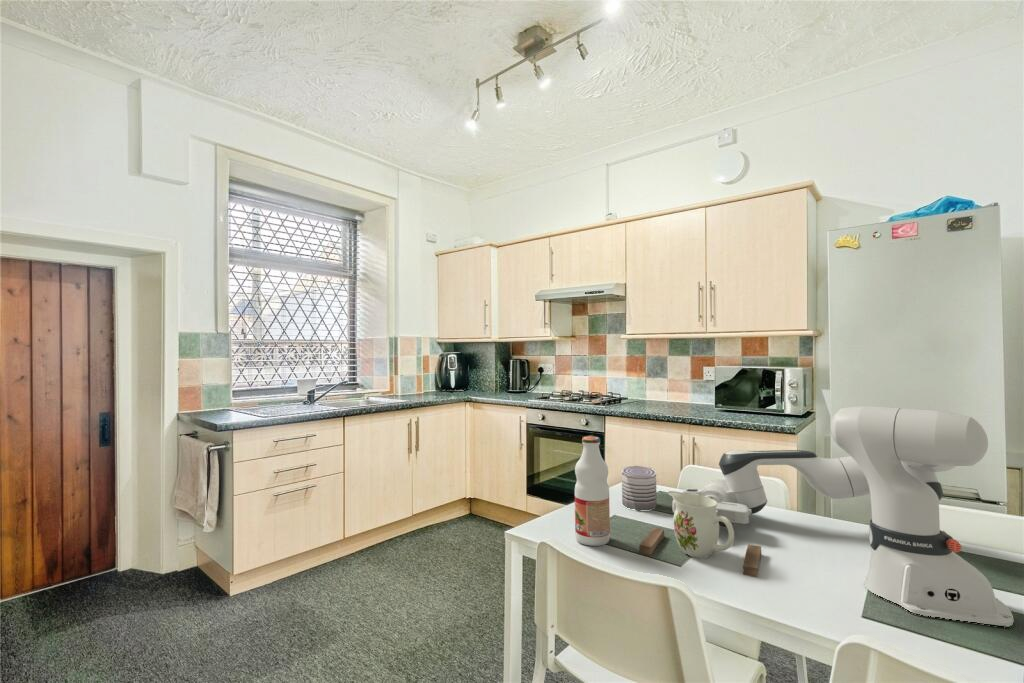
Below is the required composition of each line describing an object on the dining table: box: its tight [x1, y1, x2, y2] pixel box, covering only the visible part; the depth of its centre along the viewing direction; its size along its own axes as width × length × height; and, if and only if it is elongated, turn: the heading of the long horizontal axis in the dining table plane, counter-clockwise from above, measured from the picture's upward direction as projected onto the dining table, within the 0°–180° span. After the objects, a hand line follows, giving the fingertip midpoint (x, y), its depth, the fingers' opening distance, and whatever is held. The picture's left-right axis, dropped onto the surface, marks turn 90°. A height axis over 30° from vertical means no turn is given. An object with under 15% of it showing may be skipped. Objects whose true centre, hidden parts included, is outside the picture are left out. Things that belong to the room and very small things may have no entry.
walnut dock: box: [638, 527, 762, 578], centre depth 121 cm, size 27×14×2 cm, turn 59°
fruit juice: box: [574, 435, 611, 547], centre depth 130 cm, size 9×9×28 cm
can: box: [620, 465, 658, 510], centre depth 159 cm, size 11×11×12 cm
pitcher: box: [667, 490, 735, 559], centre depth 121 cm, size 11×18×14 cm, turn 36°
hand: (705, 517), depth 129 cm, fingers closed
